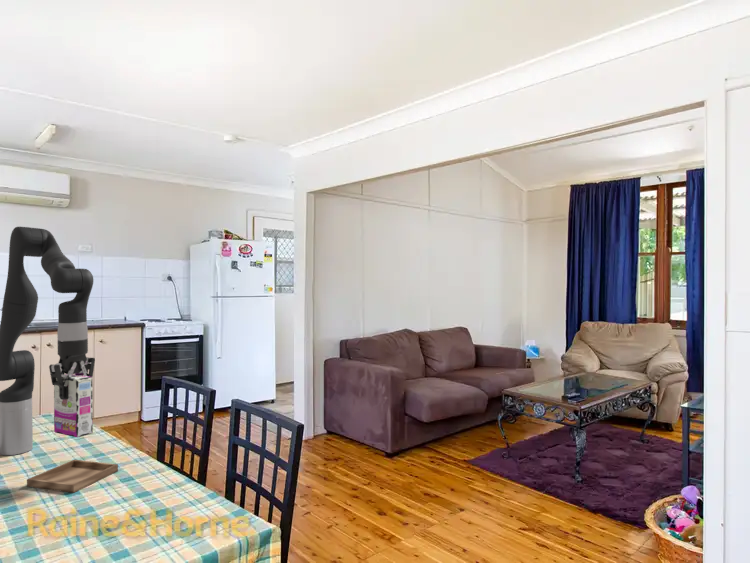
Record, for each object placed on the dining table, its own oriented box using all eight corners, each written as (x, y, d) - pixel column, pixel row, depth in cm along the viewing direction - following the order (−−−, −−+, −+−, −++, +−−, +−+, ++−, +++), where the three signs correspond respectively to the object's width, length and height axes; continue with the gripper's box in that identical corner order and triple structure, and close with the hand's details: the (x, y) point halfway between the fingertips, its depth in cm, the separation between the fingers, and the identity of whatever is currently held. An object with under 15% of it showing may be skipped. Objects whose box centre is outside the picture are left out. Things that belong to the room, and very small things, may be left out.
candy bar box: (94, 433, 149) (93, 376, 148) (77, 438, 144) (76, 379, 144) (70, 428, 154) (69, 372, 154) (53, 432, 150) (52, 375, 149)
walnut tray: (26, 486, 144) (26, 479, 144) (74, 466, 159) (74, 459, 159) (73, 492, 139) (73, 485, 139) (117, 471, 155) (117, 464, 155)
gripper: (82, 334, 157) (82, 390, 157) (40, 340, 143) (40, 401, 143) (102, 335, 155) (103, 392, 155) (62, 341, 141) (62, 403, 141)
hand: (73, 396), depth 149 cm, fingers closed on candy bar box, 5 cm apart
